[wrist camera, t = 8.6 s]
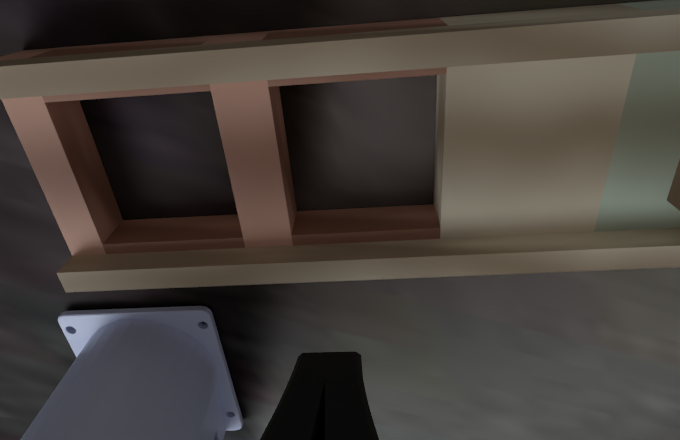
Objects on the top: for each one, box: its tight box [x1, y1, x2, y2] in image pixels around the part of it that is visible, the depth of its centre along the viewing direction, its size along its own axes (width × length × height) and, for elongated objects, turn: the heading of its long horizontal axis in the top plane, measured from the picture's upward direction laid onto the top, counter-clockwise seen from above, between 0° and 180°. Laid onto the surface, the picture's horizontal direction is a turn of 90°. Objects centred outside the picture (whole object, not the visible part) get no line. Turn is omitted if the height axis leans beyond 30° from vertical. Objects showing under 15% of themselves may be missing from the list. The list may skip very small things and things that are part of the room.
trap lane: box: [0, 0, 680, 292], centre depth 17 cm, size 9×30×4 cm, turn 94°
